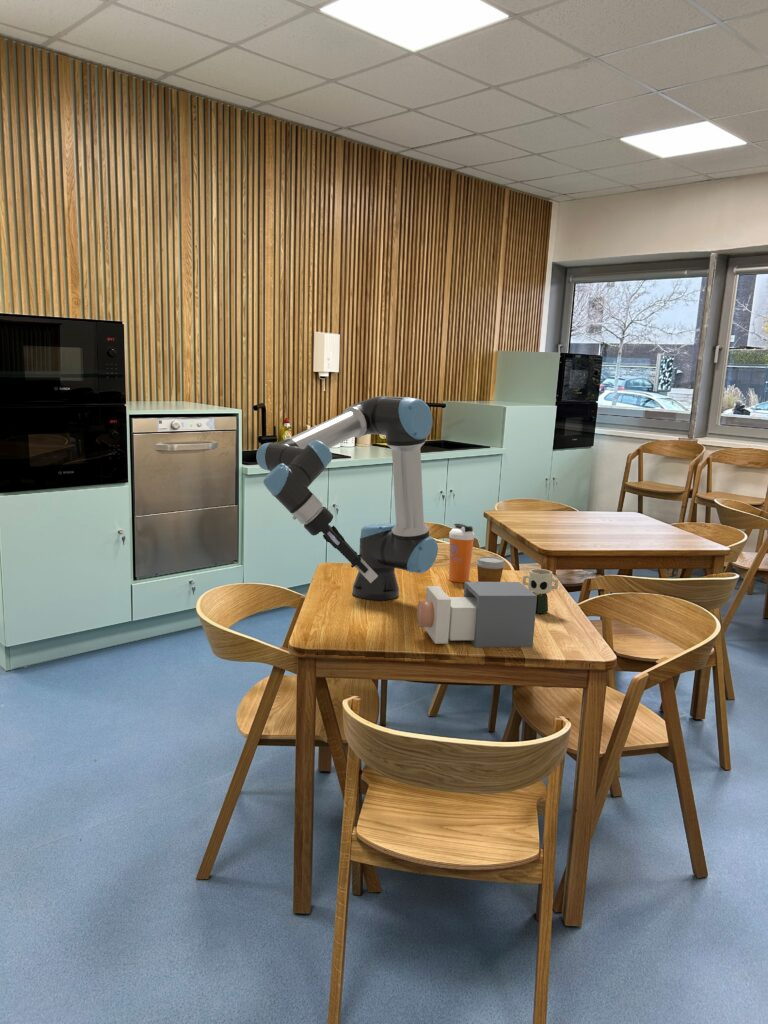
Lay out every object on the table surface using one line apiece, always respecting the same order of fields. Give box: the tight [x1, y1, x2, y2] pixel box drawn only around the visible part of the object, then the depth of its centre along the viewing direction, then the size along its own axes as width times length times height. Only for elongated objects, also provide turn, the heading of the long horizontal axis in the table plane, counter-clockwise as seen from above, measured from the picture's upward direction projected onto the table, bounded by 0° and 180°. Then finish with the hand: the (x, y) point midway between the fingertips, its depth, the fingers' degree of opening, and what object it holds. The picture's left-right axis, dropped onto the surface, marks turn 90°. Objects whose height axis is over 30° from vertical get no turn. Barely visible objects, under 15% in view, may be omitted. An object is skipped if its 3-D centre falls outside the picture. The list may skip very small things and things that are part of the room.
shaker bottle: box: [448, 523, 476, 584], centre depth 267 cm, size 9×9×20 cm
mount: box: [463, 581, 537, 648], centre depth 207 cm, size 16×14×14 cm
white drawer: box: [416, 585, 477, 645], centre depth 205 cm, size 21×13×12 cm, turn 100°
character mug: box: [522, 568, 559, 614], centre depth 234 cm, size 11×7×13 cm, turn 69°
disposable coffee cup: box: [475, 556, 506, 582], centre depth 252 cm, size 10×10×12 cm
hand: (373, 578), depth 199 cm, fingers closed
